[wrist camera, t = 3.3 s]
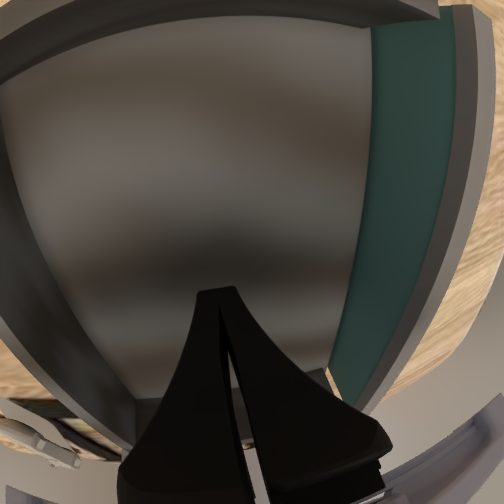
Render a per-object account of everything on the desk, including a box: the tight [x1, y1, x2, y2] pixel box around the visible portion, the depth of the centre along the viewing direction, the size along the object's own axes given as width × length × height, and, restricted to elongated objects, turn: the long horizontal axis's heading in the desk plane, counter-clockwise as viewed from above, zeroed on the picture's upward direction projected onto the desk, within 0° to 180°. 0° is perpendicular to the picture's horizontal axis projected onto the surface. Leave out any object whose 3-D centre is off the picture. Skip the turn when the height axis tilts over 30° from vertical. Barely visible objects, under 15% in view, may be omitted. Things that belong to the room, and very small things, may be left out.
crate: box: [0, 0, 440, 452], centre depth 10 cm, size 22×15×5 cm
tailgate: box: [327, 4, 496, 416], centre depth 11 cm, size 22×1×6 cm, turn 3°
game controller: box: [0, 418, 82, 471], centre depth 21 cm, size 14×4×10 cm
